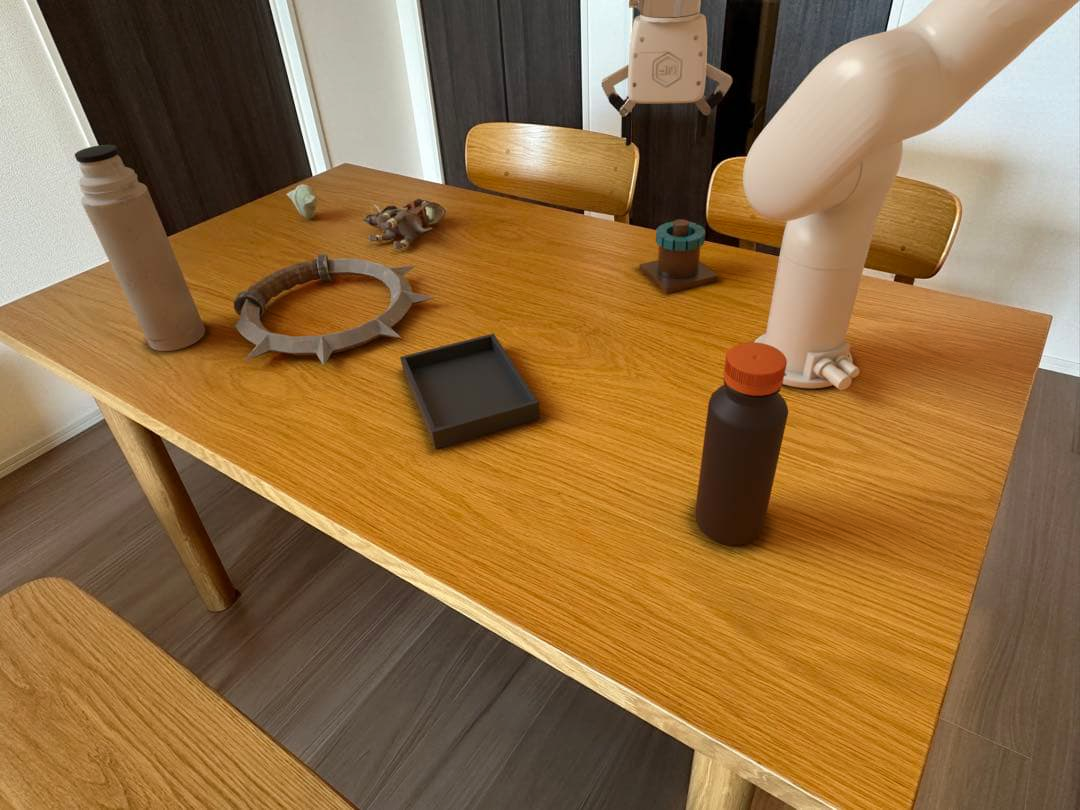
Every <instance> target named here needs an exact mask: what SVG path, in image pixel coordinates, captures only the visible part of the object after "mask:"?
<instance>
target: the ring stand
mask: <svg viewBox="0 0 1080 810" xmlns="http://www.w3.org/2000/svg"><path fill="white" fill-rule="evenodd" d="M672 222H673V235H672V236H675V237H687V236H688V233H689V222H690V221H689V220H687V219H681V218H680V219H679V218H678V219H675V220H674V221H672ZM700 254H701V247H699V248H697V249H694V250H689V251H688V250H686V251H675V249H674V250H668V249H665V248H663V247H660V246H659V245H658V255H657V259H656V260H652V261H648V262H644V263H640V264H639V271H640V273H643V274H644V276H646V277H647V278H648V279H649V280H650V281H651V282H652V283H653V284H655V285H656V286H657V287H658V288H660V290H661V291H663V292H664V293H665V294H666V295H668V294H671V293H675V292H679V291H684V290H687V289H688V290H689V289H692V288H696V287H699V286H703V285H706V284H711V283H715V282H717V281H718V275H717V274H716V273H715V272H714V271H713V270H711V269H710V268H709V267H707V266H706V265H705V264H703V263H702V262H700V256H701V255H700Z"/></svg>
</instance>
